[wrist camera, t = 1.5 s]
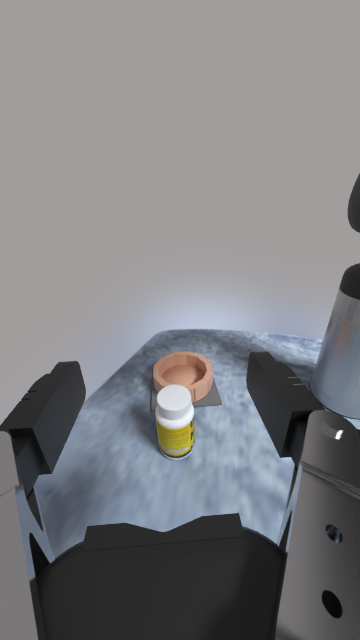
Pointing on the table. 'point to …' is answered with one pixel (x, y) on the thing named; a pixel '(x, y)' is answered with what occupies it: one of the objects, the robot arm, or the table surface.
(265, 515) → the table surface
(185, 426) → the supplement bottle
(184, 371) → the bowl
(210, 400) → the mat
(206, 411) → the table surface
